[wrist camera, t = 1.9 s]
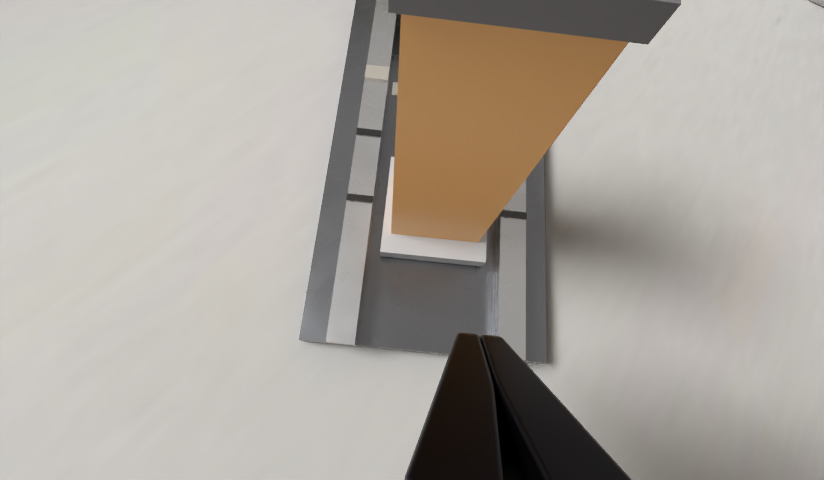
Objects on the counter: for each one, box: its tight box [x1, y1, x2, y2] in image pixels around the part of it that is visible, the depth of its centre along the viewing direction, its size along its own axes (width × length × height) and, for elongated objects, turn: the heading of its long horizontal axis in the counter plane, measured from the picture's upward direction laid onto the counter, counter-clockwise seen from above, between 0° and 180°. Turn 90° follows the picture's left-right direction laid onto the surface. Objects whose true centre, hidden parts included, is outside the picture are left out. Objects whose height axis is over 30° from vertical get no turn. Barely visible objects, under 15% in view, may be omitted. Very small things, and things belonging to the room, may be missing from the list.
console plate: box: [299, 0, 547, 363], centre depth 20 cm, size 20×11×3 cm, turn 175°
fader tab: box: [380, 0, 681, 267], centre depth 13 cm, size 5×5×14 cm
